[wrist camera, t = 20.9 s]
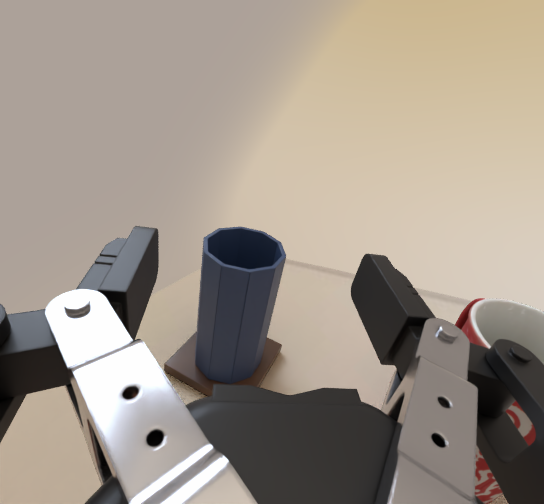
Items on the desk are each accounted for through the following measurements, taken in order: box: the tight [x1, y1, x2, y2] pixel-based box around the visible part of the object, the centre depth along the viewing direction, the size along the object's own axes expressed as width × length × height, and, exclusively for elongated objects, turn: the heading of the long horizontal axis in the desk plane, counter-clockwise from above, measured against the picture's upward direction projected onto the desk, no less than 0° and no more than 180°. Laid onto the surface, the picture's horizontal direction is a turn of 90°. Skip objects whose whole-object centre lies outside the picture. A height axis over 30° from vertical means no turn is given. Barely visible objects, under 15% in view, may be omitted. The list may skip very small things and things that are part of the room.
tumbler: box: [195, 227, 286, 384], centre depth 26 cm, size 6×6×12 cm
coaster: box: [164, 332, 282, 397], centre depth 30 cm, size 8×8×1 cm
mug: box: [455, 298, 544, 504], centre depth 24 cm, size 13×9×14 cm
